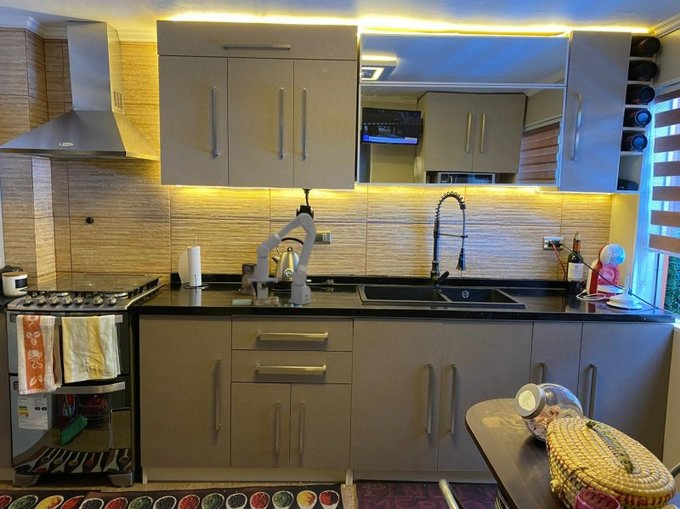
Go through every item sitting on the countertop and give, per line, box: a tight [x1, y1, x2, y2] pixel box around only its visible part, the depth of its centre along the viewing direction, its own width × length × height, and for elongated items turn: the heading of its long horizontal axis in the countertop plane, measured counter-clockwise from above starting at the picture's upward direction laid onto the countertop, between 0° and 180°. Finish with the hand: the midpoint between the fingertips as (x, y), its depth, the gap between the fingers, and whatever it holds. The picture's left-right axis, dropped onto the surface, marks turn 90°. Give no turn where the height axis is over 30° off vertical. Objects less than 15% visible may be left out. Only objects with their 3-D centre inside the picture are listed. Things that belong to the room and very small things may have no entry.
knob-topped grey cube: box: [258, 287, 268, 300], centre depth 230 cm, size 5×5×7 cm
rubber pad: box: [231, 298, 252, 306], centre depth 229 cm, size 9×9×1 cm
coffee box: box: [241, 262, 262, 296], centre depth 252 cm, size 9×6×16 cm
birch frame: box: [253, 296, 280, 306], centre depth 230 cm, size 12×10×2 cm
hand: (262, 297), depth 230 cm, fingers closed on knob-topped grey cube, 5 cm apart
